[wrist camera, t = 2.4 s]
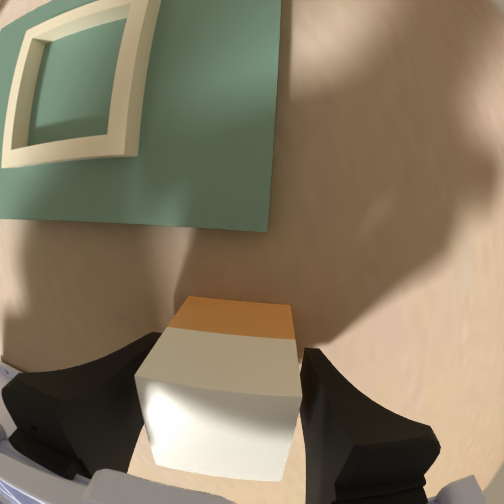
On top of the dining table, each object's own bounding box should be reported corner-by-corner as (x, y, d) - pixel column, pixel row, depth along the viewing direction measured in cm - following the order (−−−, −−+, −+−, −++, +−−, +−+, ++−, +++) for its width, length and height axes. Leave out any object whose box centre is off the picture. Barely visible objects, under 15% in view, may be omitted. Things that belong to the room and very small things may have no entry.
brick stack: (191, 375, 14) (156, 464, 8) (188, 295, 13) (134, 375, 7) (279, 384, 14) (280, 481, 8) (290, 304, 13) (302, 396, 7)
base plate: (-16, 215, 13) (-39, 221, 11) (10, 32, 10) (-10, 25, 7) (267, 228, 12) (266, 238, 10) (282, -32, 9) (283, -59, 7)
